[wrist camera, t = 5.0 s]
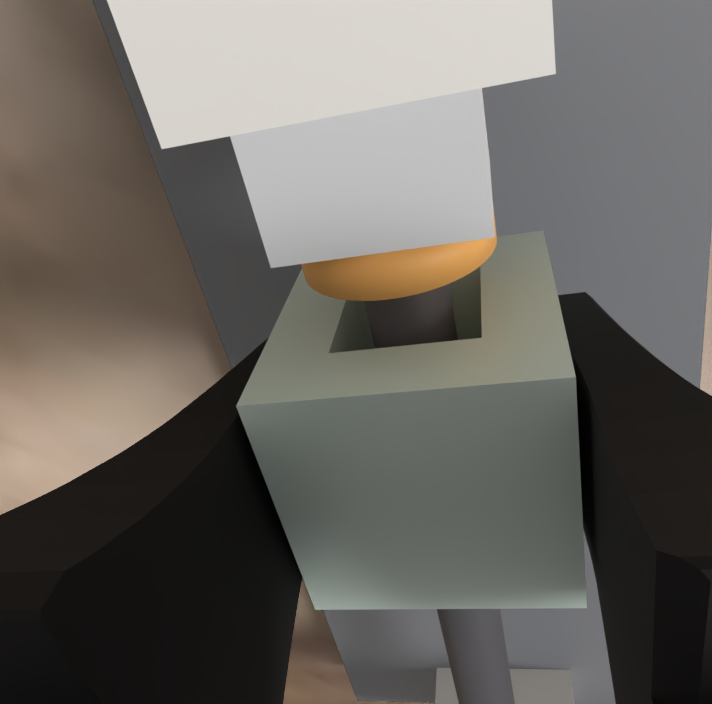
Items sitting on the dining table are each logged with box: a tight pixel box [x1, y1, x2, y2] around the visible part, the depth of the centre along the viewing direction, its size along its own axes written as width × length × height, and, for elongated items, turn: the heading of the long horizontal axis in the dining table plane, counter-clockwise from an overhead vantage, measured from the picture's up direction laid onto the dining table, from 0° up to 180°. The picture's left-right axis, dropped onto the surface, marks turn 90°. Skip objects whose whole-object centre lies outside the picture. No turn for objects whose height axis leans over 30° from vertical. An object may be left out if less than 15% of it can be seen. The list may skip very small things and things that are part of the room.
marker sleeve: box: [236, 231, 587, 610], centre depth 10 cm, size 4×4×4 cm
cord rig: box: [93, 0, 712, 704], centre depth 14 cm, size 22×10×6 cm, turn 12°
